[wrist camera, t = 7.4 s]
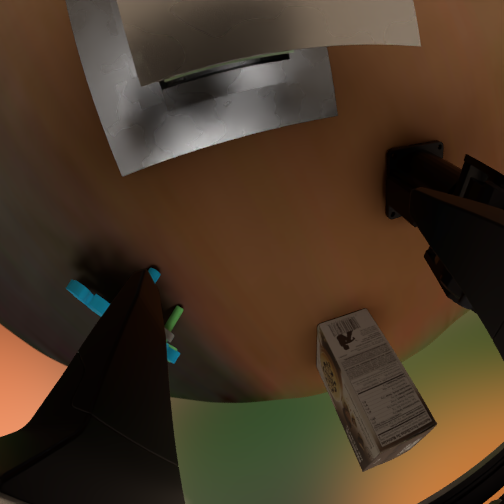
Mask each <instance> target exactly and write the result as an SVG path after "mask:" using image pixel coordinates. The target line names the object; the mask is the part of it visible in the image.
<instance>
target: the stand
mask: <svg viewBox="0 0 504 504" xmlns="http://www.w3.org/2000/svg"><path fill="white" fill-rule="evenodd" d="M66 4H67V9H68V13H69V18H70V22H71V26H72V30H73V34H74V38H75V41H76V45H77V49H78V52H79V56H80V59H81V63H82V66H83V69H84V73H85V76H86V79H87V82H88V85H89V88H90V91H91V94H92V97H93V100H94V103H95V106H96V109H97V112H98V115H99V118H100V121H101V123H102V126H103V129H104V131H105V134H106V137H107V139H108V142H109V145H110V147H111V150H112V152H113V155H114V157H115V160H116V162H117V165H118V167H119V170H120V172H121V175H122V177H123V176H125V175H128V174H130V173H133V172H135V171H138V170H141V169H143V168H146V167H149V166H151V165H154V164H157V163H160V162H162V161H165V160H168V159H171V158H174V157H177V156H180V155H183V154H186V153H189V152H192V151H195V150H198V149H201V148H205V147H208V146H211V145H215V144H218V143H221V142H225V141H228V140H232V139H236V138H239V137H243V136H247V135H251V134H254V133H258V132H262V131H266V130H270V129H275V128H279V127H283V126H288V125H292V124H297V123H302V122H307V121H312V120H317V119H322V118H327V117H333V116H338V114H337V107H336V99H335V92H334V86H333V79H332V73H331V67H330V62H329V56H328V51H327V47H316V48H306V49H298V50H294V53H286V54H279V55H273V56H267V57H261V58H256V59H251V60H246V61H241V62H236V63H232V64H228V65H223V66H219V67H215V68H211V69H207V70H204V71H200V72H196V73H193V74H190V75H186V76H183V77H180V78H176V79H173V80H170V81H167V82H165V81H164V80H162V81H158V82H155V83H152V84H149V85H146V86H143V87H141V85H140V82H139V79H138V75H137V72H136V69H135V65H134V62H133V59H132V55H131V52H130V48H129V45H128V41H127V38H126V34H125V31H124V27H123V23H122V19H121V16H120V12H119V8H118V4H117V0H66Z"/></svg>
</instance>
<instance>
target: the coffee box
mask: <svg viewBox="0 0 504 504" xmlns="http://www.w3.org/2000/svg"><path fill="white" fill-rule="evenodd" d="M317 369H318V371H319V373H320V375H321V378H322V380H323V382H324V384H325V386H326V389H327V391H328V393H329V395H330V398H331V400H332V402H333V405H334V407H335V409H336V411H337V414H338V416H339V418H340V421H341V423H342V425H343V427H344V430H345V432H346V434H347V437H348V439H349V441H350V444H351V446H352V448H353V450H354V453H355V455H356V457H357V459H358V462H359V464H360V466H361V469H362V471H363V472H364V471H366V470H368V469H370V468H372V467H374V466H377V465H380V464H383V463H385V462H387V461H390V460H392V459H394V458H396V457H398V456H400V455H401V454H403V453H405V452H407V451H408V450H410V449H411V448H412V447H413V446H415V445H416V444H417V443H418V442H419V441H420V440H421V439H422V438H424V437H425V436H426V435H427V434H428V433H429V432H430V431H431V430H432V429H433V428H434V427H435V426H436V425H437V422H436V421H435V420H434V418H433V416H432V414H431V412H430V411H429V409H428V407H427V405H426V404H425V402H424V400H423V399H422V397H421V395H420V393H419V392H418V390H417V388H416V387H415V385H414V383H413V382H412V380H411V378H410V377H409V375H408V373H407V372H406V370H405V368H404V367H403V365H402V363H401V362H400V360H399V359H398V357H397V355H396V354H395V352H394V350H393V349H392V347H391V346H390V344H389V342H388V341H387V339H386V338H385V336H384V335H383V333H382V332H381V330H380V329H379V327H378V325H377V324H376V322H375V321H374V319H373V318H372V316H371V315H370V313H369V312H368V310H367V309H362V310H360V311H357V312H354V313H351V314H348V315H345V316H342V317H339V318H336V319H333V320H330V321H327V322H324V323H320V324H319V325H318V327H317Z"/></svg>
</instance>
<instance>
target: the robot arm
mask: <svg viewBox="0 0 504 504" xmlns="http://www.w3.org/2000/svg"><path fill="white" fill-rule="evenodd" d="M438 146H439V147H438ZM393 154H394V156H393V157H392V155H393ZM464 161H465V162H464V165H463V167H462V169H460V168H459V167H457V166H455V165H453V164H451V163H450V162H448V161H446V160H444V159H443V143H442V142H440V141H431V142H425V143H420V144H414V145H409V146H404V147H398V148H393V149H390V150H389V151H388V152H387V178H386V216H387V217H388V218H389V219H395V218H398V217H401V216H402V217H404V218H405V219H406V220H407V221H408V222H409V223H411V224H412V225H413V226H414V227H418V228H419V230H420V231H421V233H422V234H423V236H424V237H425V239H426V240H427V242H428V244H429V245H430V247H429V249H428V250H426V252H425V254H424V258H425V260H426V261H427V263H428V265H429V266H430V268H431V270H432V272H433V273H434V275H435V277H436V278H437V280H438V282H439V284H440V285H441V287H442V289H443V290H444V292H445V294H446V296H447V297H448V298H450V299H452V300H453V302H455V303H457V304H459V305H460V306H462V307H464V308H467V309H471V310H472V311H474V312H475V313H477V314H478V316H479V318H480V319H481V321H482V323H483V324H484V326H485V328H486V329H487V331H488V333H489V334H490V336H491V338H492V339H493V342H494V344H495V346H496V347H497V349H498V351H499V353H500V355H501V357H502V359H503V361H504V175H502V174H501V173H499V172H497V171H496V170H494V169H492V168H491V167H489V166H487V165H485V164H484V163H482V162H480V161H478V160H476V159H475V158H473V157H471V156H469V155H467V154H466V155H465V158H464ZM391 213H392V214H391ZM503 486H504V442H503V443H502V444H501V445H500V446H499V447H497V448H496V449H495V450H494V451H493V452H492V453H490V454H489V455H488V456H487V457H486V458H485V459H483V460H482V461H481V462H479V463H478V464H477V465H475V466H474V467H473V468H471V469H470V470H469V471H467V472H466V473H465V474H463V475H462V476H460V477H459V478H458V479H456V480H455V481H453V482H452V483H450V484H449V485H447V486H446V487H444V488H443V489H441V490H440V491H438V492H436V493H435V494H433V495H431V496H430V497H428V498H427V499H425V500H423V501H421V502H420V503H418V504H483V503H484V502H485V501H487V500H488V499H489V498H490V497H492V496H493V495H494V494H495V493H496V492H497V491H499V490H500V489H501V488H502V487H503ZM0 504H185V501H184V495H183V490H182V484H181V478H180V472H179V467H178V460H177V453H176V446H175V438H174V430H173V421H172V411H171V401H170V390H169V377H168V363H167V345H166V334H165V327H164V321H163V314H162V308H161V301H160V294H159V291H158V288H157V286H156V284H155V282H154V281H153V279H152V277H151V275H150V273H149V272H148V270H146V269H142V270H139V271H136V272H134V273H133V274H132V275H131V277H130V278H129V279H128V281H127V282H126V283H125V285H124V286H123V287H122V289H121V290H120V291H119V293H118V294H117V296H116V297H115V298H114V300H113V301H112V302H111V304H110V305H109V307H108V308H107V309H106V311H105V312H104V314H103V315H102V316H101V318H100V319H99V321H98V322H97V324H96V325H95V327H94V328H93V329H92V331H91V332H90V334H89V335H88V337H87V338H86V340H85V341H84V343H83V344H82V346H81V347H80V349H79V350H78V353H76V355H75V356H74V358H73V360H72V361H71V363H70V364H69V366H68V367H67V369H66V370H65V372H64V373H63V375H62V376H61V378H60V379H59V381H58V382H57V383H56V385H55V386H54V388H53V389H52V390H51V392H50V393H49V395H48V396H47V397H46V399H45V400H44V402H43V403H42V405H41V406H40V407H39V409H38V410H37V412H36V413H35V415H34V416H33V418H32V419H31V420H30V421H29V422H28V424H26V425H25V426H24V427H23V428H21V429H20V430H18V431H16V432H14V433H11V434H8V435H5V436H2V437H0ZM489 504H504V494H503V495H502V496H501V497H500V498H499V499H497V500H494V501H491V502H490V503H489Z"/></svg>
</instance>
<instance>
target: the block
mask: <svg viewBox="0 0 504 504" xmlns="http://www.w3.org/2000/svg"><path fill="white" fill-rule="evenodd" d="M117 4H118V8H119V12H120V16H121V19H122V23H123V27H124V31H125V34H126V38H127V41H128V45H129V48H130V52H131V55H132V59H133V62H134V65H135V69H136V72H137V75H138V79H139V82H140V85H141V87H143V86H146V85H149V84H152V83H155V82H158V81H162V80H164V81H165V82H167V81H170V80H173V79H176V78H180V77H183V76H186V75H190V74H193V73H196V72H200V71H204V70H207V69H211V68H215V67H219V66H223V65H228V64H232V63H236V62H241V61H246V60H251V59H256V58H261V57H267V56H273V55H279V54H286V53H294V50H298V49H306V48H316V47H327V46H343V45H407V46H421V43H420V36H419V30H418V24H417V18H416V13H415V8H414V3H413V0H117Z"/></svg>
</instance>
